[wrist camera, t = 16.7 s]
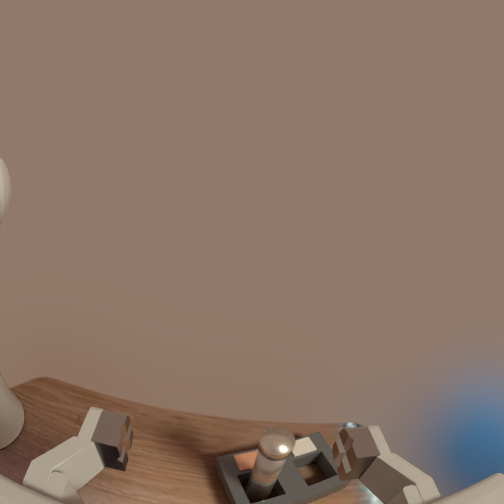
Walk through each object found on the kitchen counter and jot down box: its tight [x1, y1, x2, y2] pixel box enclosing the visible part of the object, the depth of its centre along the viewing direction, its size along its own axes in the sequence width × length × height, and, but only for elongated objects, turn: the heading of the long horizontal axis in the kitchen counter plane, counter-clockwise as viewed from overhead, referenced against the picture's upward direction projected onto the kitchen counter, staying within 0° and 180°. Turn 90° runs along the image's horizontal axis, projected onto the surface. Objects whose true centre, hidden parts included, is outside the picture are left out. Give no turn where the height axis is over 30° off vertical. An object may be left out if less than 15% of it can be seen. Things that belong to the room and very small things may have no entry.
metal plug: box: [245, 427, 296, 503], centre depth 29 cm, size 4×4×14 cm
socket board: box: [215, 432, 351, 504], centre depth 33 cm, size 16×10×3 cm, turn 111°
